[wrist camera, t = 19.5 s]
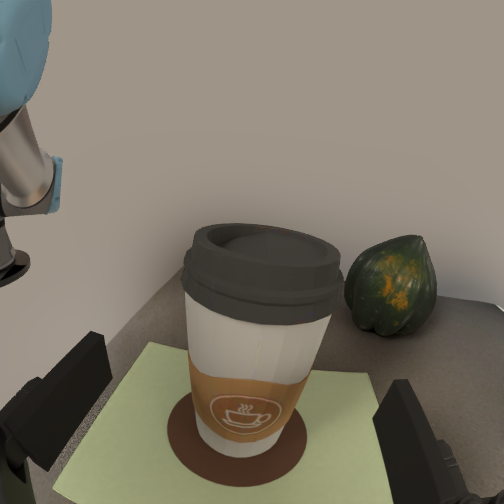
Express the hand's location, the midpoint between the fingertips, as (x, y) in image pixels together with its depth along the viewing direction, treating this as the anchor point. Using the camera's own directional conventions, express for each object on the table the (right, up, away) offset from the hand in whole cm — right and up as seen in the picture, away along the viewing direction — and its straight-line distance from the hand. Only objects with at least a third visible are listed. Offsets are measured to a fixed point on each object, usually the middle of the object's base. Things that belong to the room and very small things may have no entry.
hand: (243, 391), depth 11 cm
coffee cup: (-1, -8, +8) cm, 11 cm away
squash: (+20, -5, +28) cm, 35 cm away
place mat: (0, -9, +7) cm, 11 cm away
